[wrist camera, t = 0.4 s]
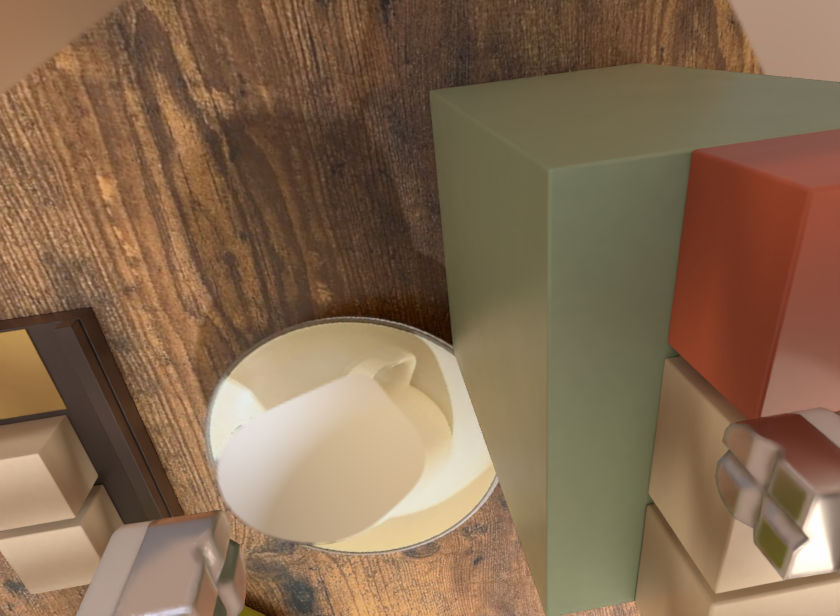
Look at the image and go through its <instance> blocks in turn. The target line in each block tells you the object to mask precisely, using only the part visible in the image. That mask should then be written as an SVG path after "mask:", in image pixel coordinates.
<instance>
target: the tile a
mask: <svg viewBox="0 0 840 616" xmlns="http://www.w3.org/2000/svg"><path fill="white" fill-rule="evenodd" d="M834 413H836V414H837V415H838V416H839V417H840V411H838V412H834ZM745 420H748V419H747V418H746V417H745V416H744V415H743V414H742V413H741V412H740V411H739V410H738V409H737V408H735V407H734V406H733V405H732V404H731V403H730V402H729V401H728V400H727V399H726V398H725V397H724V396H723V395H722V394H721V393H720V392H719V391H718V390H717V389H715V388H714V387H713V386H712V385H711V384H710V383H709V382H708V381H707V380H706V379H705V378H704V377H703V376H702V375H701V374H700V373H699V372H698V371H697V370H696V369H694V368H693V367H692V366H691V365H690V364H689V363H688V362H687V361H686V360H685V359H684V358H683V357H682V356H678V357H673V358H667V359H665V364H664V371H663V379H662V387H661V395H660V403H659V411H658V419H657V427H656V434H655V442H654V450H653V458H652V466H651V474H650V482H649V490H648V493H649V495H650V496H651V498H652V499H653V501H654V503H655V504H656V506H657V507H658V509H659V510H660V512H661V513H662V515H663V516H664V518H665V519H666V521H667V522H668V524H669V525H670V527H671V528H672V530H673V531H674V533H675V534H676V536H677V537H678V539H679V540H680V542H681V543H682V545H683V546H684V548H685V549H686V551H687V552H688V554H689V555H690V557H691V558H692V560H693V561H694V563H695V564H696V566H697V567H698V569H699V570H700V572H701V573H702V575H703V576H704V578H705V579H706V581H707V582H708V584H709V585H710V587H711V588H712V590H713V591H714V593H716V594H717V593H722V592H727V591H733V590H738V589H743V588H748V587H753V586H758V585H763V584H768V583H773V582H778V581H783V579H782V578H781V576H780V575H779V574H778V573H777V571H776V570H775V569H774V568H773V566H772V565H771V564H770V563H769V561H768V560H767V559H766V558H765V556H764V555H763V554H762V553H761V551H760V550H759V549H758V548H757V546H756V545H755V544H754V543H753V528H751V527H749V526H747V525H745V524H743V523H742V522H740V521H738V520H736V519H735V518H734V517H733V516H732V515H731V513H730V512H729V511H728V509H727V508H726V507H725V505H724V503H723V501H722V499H721V497H720V495H719V493H718V489H717V485H716V480H715V472H716V466H717V461H718V460H719V459H720V458H721V457H722V456H723V455H724V454H725V453H726V452H727V451H728V448H727V447H726V446H725V444H724V443H723V442H722V440H723V436H724V432H725V429H726V428H727V427H728V426H729V425H730V424H731V423H734V422H739V421H745Z"/></svg>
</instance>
